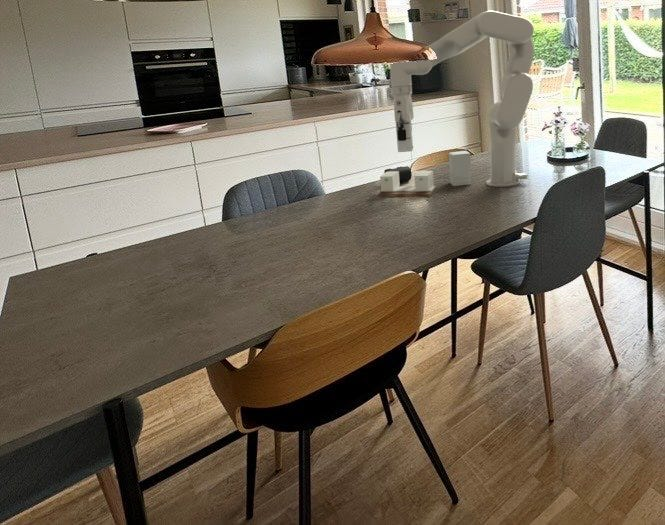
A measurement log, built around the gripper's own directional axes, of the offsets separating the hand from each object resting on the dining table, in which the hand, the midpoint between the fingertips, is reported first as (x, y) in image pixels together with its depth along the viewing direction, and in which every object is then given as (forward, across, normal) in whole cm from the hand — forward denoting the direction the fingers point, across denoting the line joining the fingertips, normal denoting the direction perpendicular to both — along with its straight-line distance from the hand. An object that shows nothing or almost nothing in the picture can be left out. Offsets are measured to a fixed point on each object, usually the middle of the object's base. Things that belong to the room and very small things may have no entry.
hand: (404, 138), depth 219 cm
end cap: (+22, +17, +9) cm, 29 cm away
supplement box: (+22, +15, -18) cm, 32 cm away
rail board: (+22, 0, 0) cm, 22 cm away
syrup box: (+5, 0, 0) cm, 5 cm away
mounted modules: (+20, 0, 0) cm, 20 cm away
